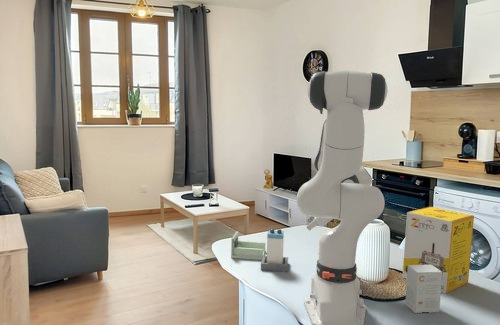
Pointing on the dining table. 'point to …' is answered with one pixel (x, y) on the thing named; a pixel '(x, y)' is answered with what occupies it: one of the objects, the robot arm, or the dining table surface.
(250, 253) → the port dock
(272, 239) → the plug block
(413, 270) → the small box
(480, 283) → the dining table surface
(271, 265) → the frame
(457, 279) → the packaging box
